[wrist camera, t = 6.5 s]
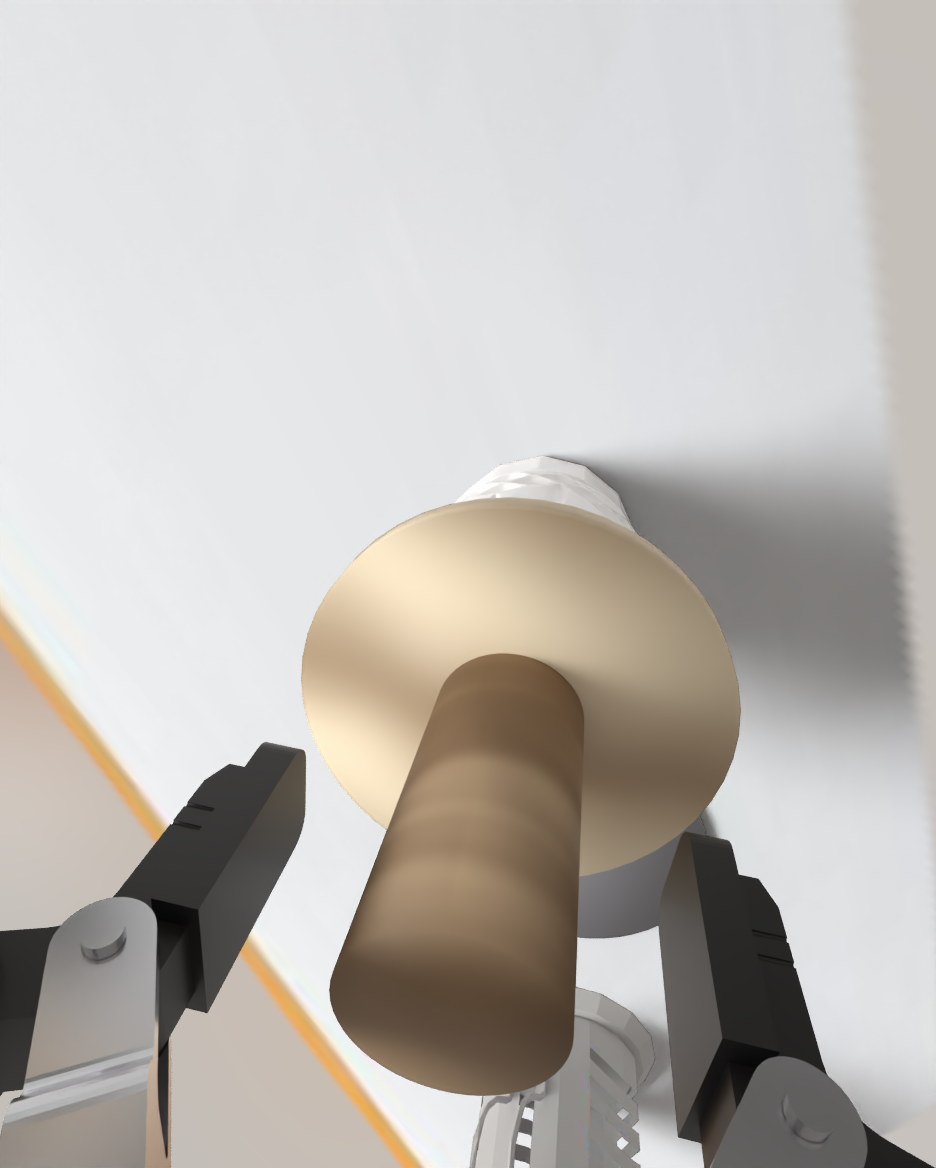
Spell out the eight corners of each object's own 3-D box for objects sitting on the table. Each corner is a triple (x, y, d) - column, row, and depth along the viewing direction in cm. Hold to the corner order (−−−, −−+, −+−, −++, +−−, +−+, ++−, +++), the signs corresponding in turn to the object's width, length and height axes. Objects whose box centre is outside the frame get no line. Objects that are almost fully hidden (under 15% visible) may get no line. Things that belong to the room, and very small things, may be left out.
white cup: (698, 534, 24) (756, 690, 15) (553, 673, 27) (531, 869, 18) (524, 391, 23) (478, 466, 14) (397, 554, 26) (293, 698, 17)
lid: (312, 466, 15) (54, 641, 8) (791, 535, 14) (995, 815, 7) (314, 814, 19) (150, 1128, 12) (678, 889, 18) (728, 1286, 11)
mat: (474, 722, 29) (473, 728, 29) (738, 775, 28) (740, 781, 27) (449, 901, 34) (447, 908, 33) (673, 953, 33) (674, 960, 32)
